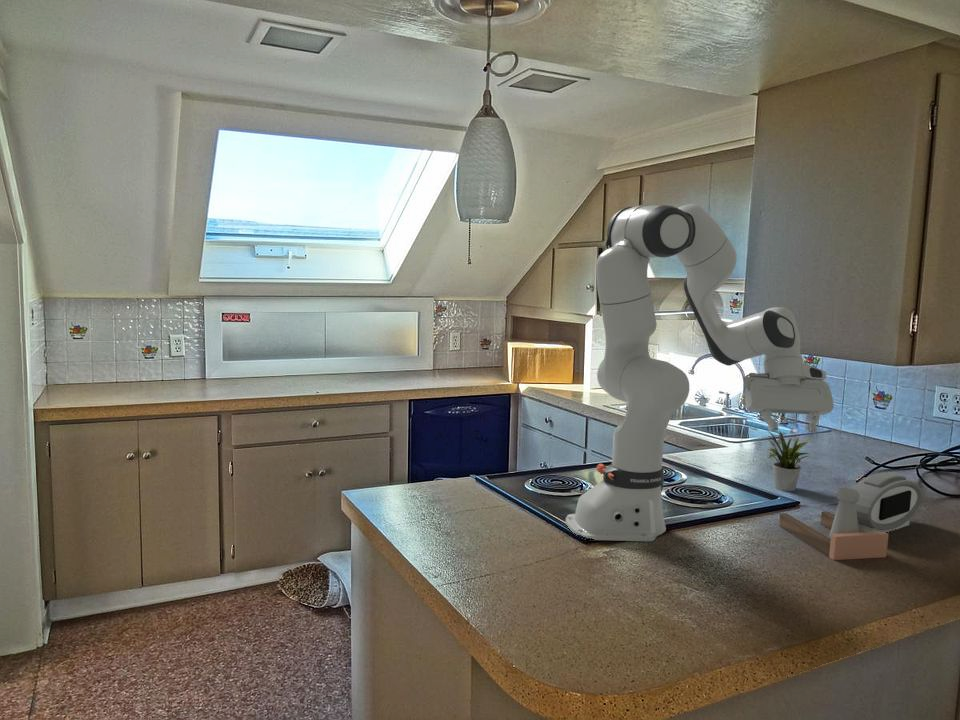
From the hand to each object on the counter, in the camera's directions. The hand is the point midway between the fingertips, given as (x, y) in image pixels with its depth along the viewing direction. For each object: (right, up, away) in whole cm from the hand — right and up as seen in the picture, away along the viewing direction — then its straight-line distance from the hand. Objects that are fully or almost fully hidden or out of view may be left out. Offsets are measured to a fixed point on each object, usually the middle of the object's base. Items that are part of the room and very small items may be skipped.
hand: (793, 431), depth 170 cm
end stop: (+6, -24, -17) cm, 30 cm away
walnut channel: (+5, -23, -7) cm, 25 cm away
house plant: (+9, -18, +30) cm, 36 cm away
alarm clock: (+20, -23, 0) cm, 30 cm away
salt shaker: (+6, -24, -12) cm, 28 cm away
